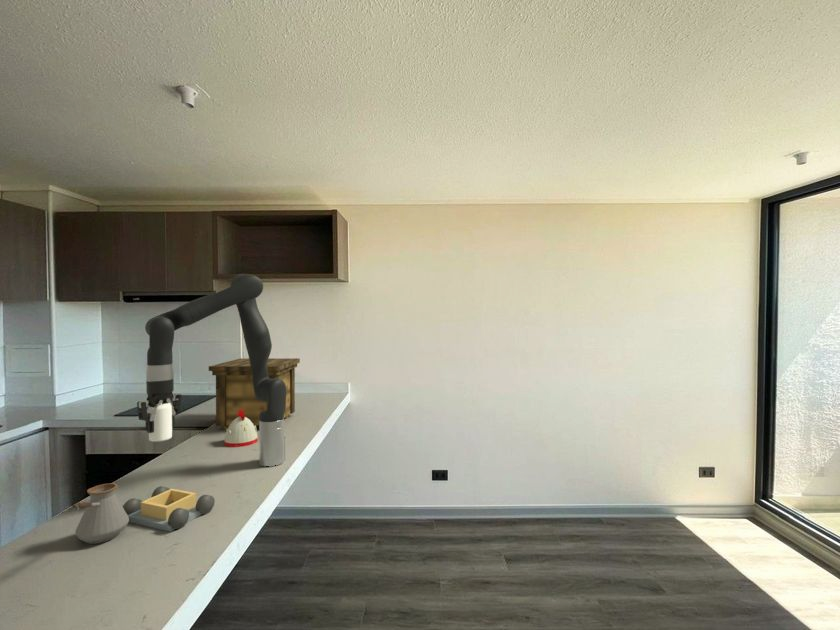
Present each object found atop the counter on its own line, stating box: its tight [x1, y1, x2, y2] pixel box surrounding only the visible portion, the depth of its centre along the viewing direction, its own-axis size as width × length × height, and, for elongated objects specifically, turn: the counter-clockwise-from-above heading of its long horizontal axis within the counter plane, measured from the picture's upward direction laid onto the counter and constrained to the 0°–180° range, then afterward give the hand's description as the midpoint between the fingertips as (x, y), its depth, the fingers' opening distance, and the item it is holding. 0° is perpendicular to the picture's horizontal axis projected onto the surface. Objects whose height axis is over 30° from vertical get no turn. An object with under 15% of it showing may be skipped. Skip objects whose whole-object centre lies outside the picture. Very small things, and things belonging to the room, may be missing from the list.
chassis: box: [122, 485, 216, 532], centre depth 124 cm, size 14×20×5 cm
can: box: [148, 402, 173, 443], centre depth 136 cm, size 6×6×12 cm
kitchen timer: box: [224, 409, 259, 448], centre depth 193 cm, size 14×14×15 cm
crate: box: [208, 357, 301, 430], centre depth 227 cm, size 35×35×33 cm
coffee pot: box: [66, 483, 130, 545], centre depth 107 cm, size 21×12×15 cm, turn 16°
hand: (160, 429), depth 136 cm, fingers closed on can, 6 cm apart
